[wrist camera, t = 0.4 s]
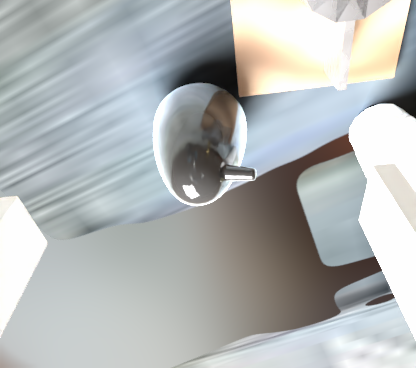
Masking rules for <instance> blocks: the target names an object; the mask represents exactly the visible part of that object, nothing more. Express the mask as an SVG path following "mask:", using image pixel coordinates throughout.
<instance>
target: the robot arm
mask: <svg viewBox="0 0 416 368" xmlns="http://www.w3.org/2000/svg"><path fill="white" fill-rule="evenodd" d="M359 222H360V224H361V226H362V228H363V230H364V232H365V234H366V236H367V238H368V241H369V243H370V245H371V247H372V249H373V251H374V253H375V255H376V257H377V259H378V262H379V264H380V266H381V268H382V270H383V272H384V274H385V276H386V278H387V281H388V283H389V285H390V287H391V289H392V291H393V293H394V295H395V297H396V300H397V302H398V304H399V306H400V308H401V310H402V312H403V314H404V316H405V318H406V321H407V323H408V325H409V327H410V329H411V331H412V333H413V335H414V337H415V340H416V191H415V190H414V188H413V187H412V186H411V184H410V183H409V182H408V180H407V179H406V178H405V176H404V175H403V173H402V172H401V171H400V169H399V168H398V167H397V165H396V164H395V163H389V164H378V165H372V167H371V171H370V176H369V180H368V184H367V188H366V192H365V197H364V201H363V205H362V209H361V214H360V218H359ZM47 244H48V242H47V241H46V239H45V238H44V236H43V235H42V233H41V232H40V230H39V228H38V227H37V225H36V224H35V222H34V221H33V219H32V218H31V216H30V215H29V213H28V211H27V210H26V208H25V207H24V205H23V204H22V202H21V201H20V199H19V198H18V196H11V197H0V337H1V335H2V333H3V331H4V329H5V327H6V325H7V323H8V321H9V319H10V317H11V315H12V313H13V311H14V309H15V307H16V306H17V304H18V302H19V300H20V298H21V296H22V294H23V292H24V290H25V288H26V286H27V284H28V282H29V280H30V278H31V276H32V274H33V272H34V270H35V268H36V266H37V264H38V262H39V260H40V258H41V256H42V254H43V252H44V250H45V248H46V246H47Z"/></svg>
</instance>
